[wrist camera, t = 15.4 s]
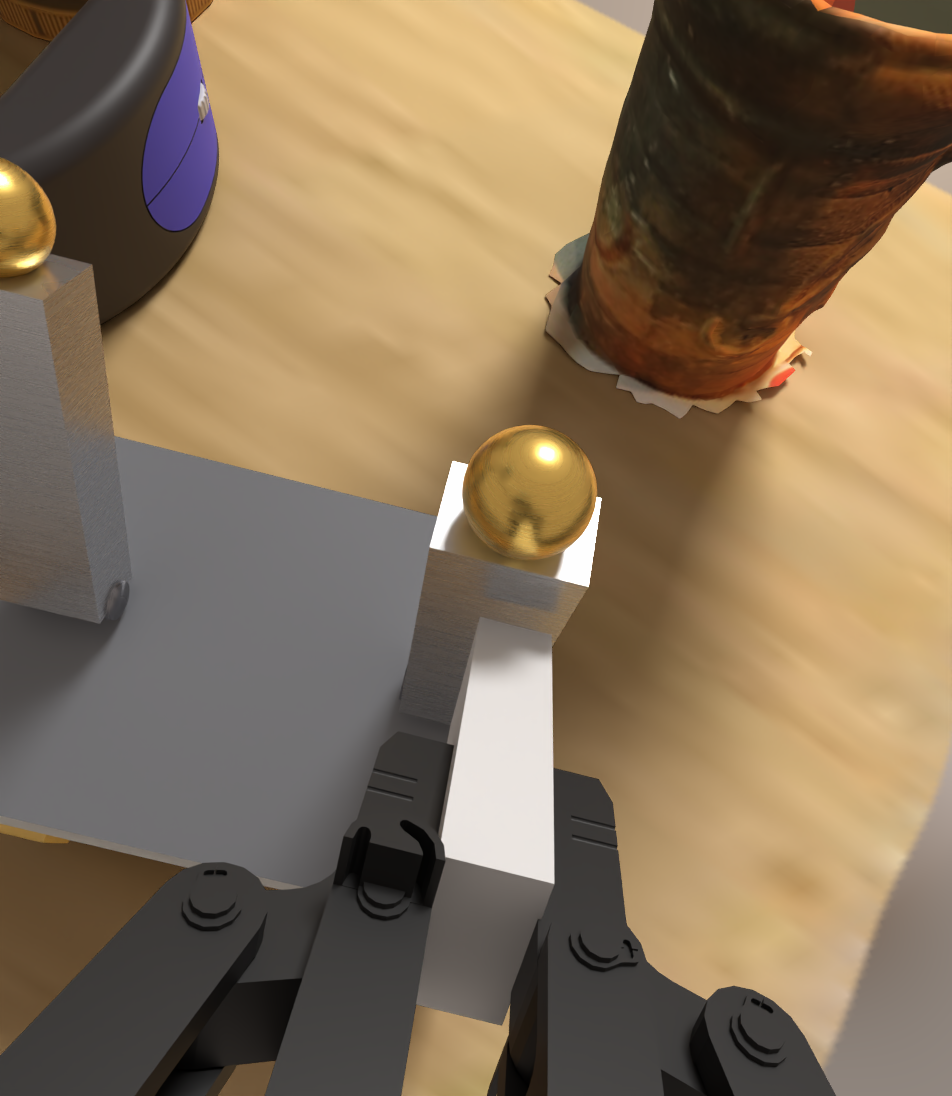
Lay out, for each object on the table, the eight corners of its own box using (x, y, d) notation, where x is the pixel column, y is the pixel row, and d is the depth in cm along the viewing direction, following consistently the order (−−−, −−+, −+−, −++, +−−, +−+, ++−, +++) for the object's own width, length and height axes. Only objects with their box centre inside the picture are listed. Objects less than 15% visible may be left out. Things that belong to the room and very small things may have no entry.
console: (13, 820, 29) (-114, 811, 22) (139, 518, 34) (71, 425, 26) (459, 926, 29) (485, 952, 22) (523, 613, 34) (563, 548, 27)
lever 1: (-6, 617, 23) (-149, 151, 14) (40, 563, 25) (-63, 121, 16) (102, 643, 23) (22, 194, 15) (140, 587, 25) (88, 160, 16)
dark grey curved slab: (105, 384, 36) (15, 233, 27) (13, 347, 36) (-105, 186, 27) (267, 146, 42) (237, -39, 33) (189, 116, 42) (137, -77, 33)
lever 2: (392, 724, 23) (432, 488, 12) (411, 650, 25) (464, 376, 13) (496, 749, 23) (630, 537, 12) (510, 675, 25) (644, 422, 14)
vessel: (706, 495, 37) (1016, 126, 19) (485, 313, 40) (564, -164, 21) (862, 325, 42) (1230, -101, 23) (655, 173, 45) (839, -314, 26)
